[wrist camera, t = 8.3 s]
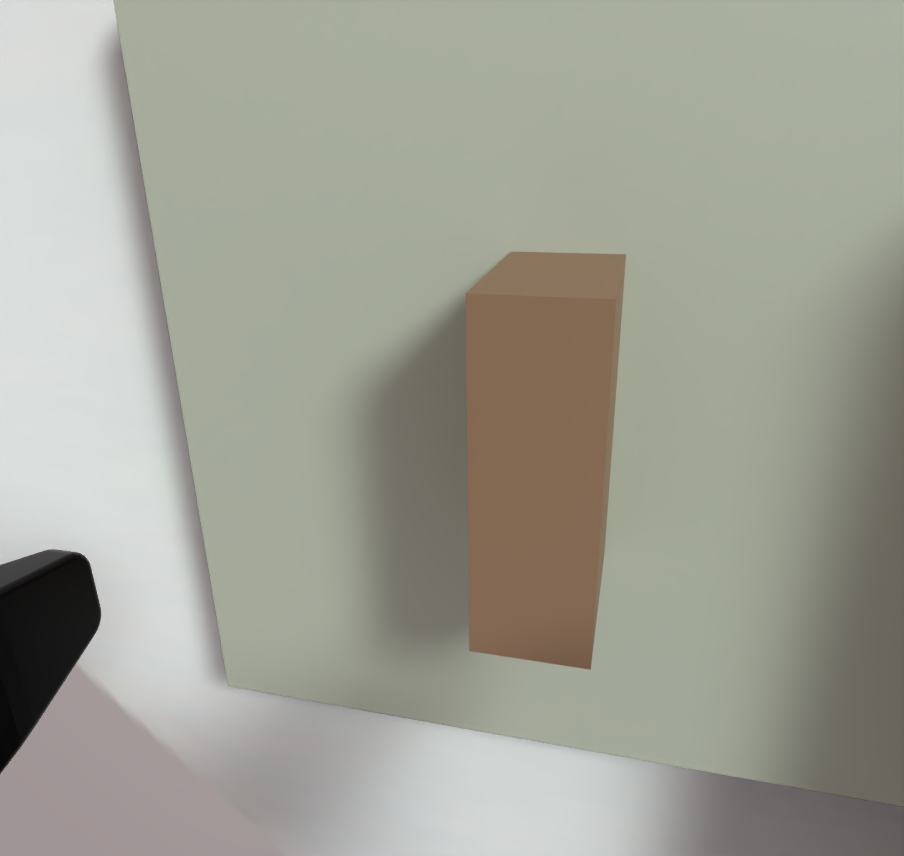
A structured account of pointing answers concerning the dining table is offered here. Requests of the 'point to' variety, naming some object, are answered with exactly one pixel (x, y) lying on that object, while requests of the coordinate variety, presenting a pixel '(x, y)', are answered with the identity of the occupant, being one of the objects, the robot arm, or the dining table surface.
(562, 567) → the lid
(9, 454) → the dining table surface
